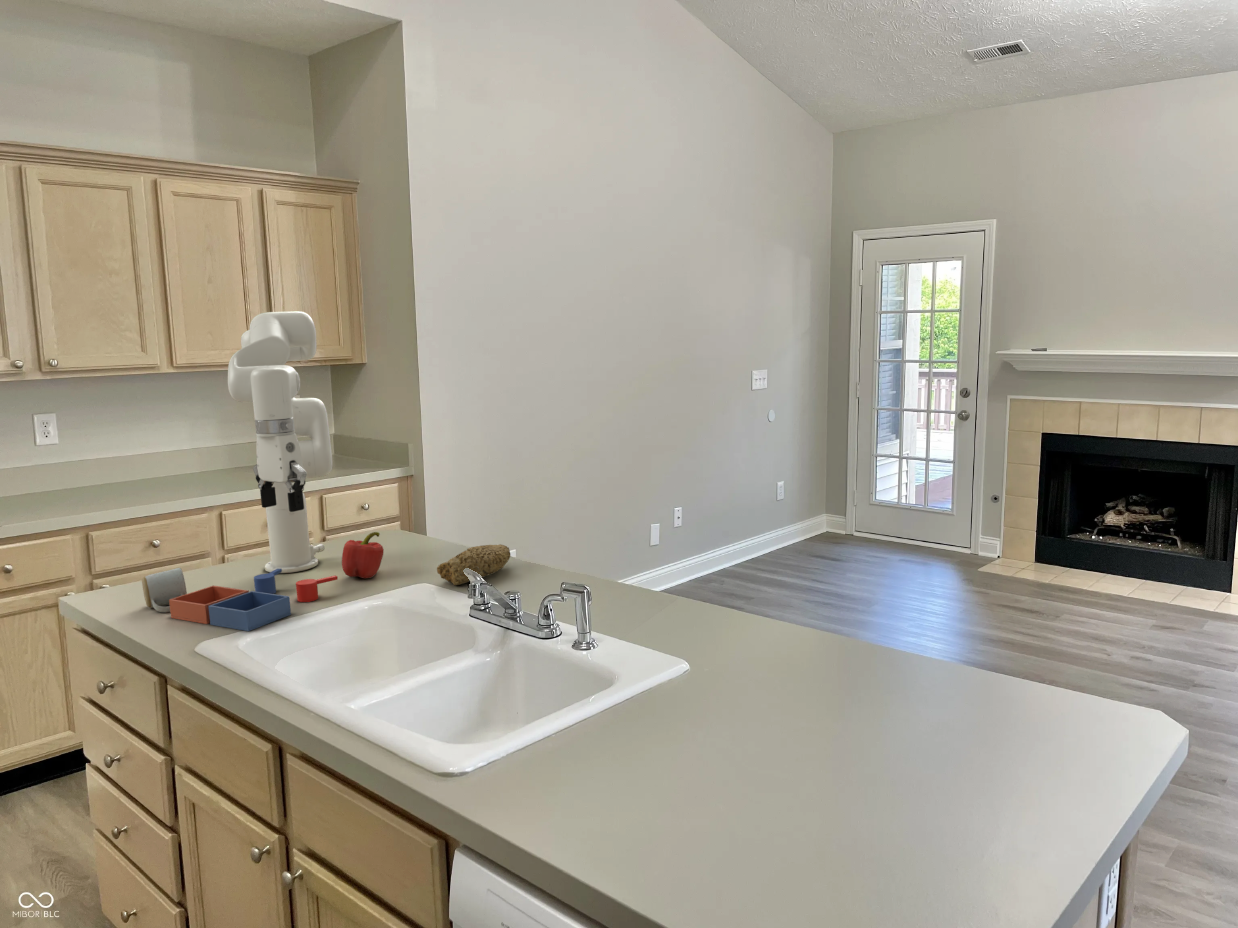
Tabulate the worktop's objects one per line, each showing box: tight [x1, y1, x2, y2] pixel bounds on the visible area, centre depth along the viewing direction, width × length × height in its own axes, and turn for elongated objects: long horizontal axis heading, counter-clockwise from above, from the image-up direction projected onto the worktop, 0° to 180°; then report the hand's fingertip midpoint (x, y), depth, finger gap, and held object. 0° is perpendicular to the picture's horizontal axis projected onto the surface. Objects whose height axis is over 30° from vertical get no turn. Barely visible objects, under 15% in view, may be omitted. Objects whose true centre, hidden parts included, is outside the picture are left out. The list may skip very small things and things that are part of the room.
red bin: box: [169, 585, 250, 625], centre depth 193 cm, size 11×11×4 cm
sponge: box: [436, 543, 511, 586], centre depth 214 cm, size 13×8×20 cm
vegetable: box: [341, 531, 385, 579], centre depth 217 cm, size 11×10×10 cm
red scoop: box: [295, 575, 339, 603], centre depth 202 cm, size 9×4×4 cm, turn 133°
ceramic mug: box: [141, 567, 188, 613], centre depth 198 cm, size 11×8×8 cm
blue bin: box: [208, 590, 292, 632], centre depth 187 cm, size 11×11×4 cm
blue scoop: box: [253, 569, 282, 594], centre depth 209 cm, size 9×4×4 cm, turn 173°
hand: (282, 508), depth 191 cm, fingers open, 9 cm apart
